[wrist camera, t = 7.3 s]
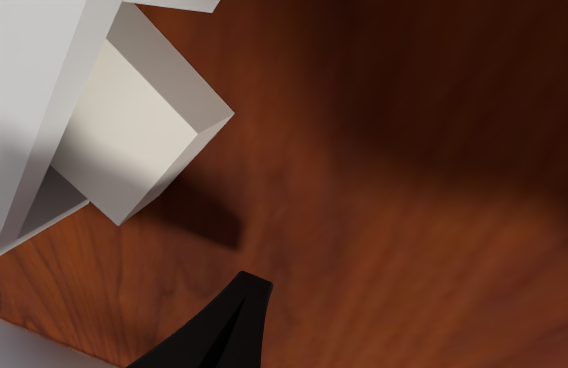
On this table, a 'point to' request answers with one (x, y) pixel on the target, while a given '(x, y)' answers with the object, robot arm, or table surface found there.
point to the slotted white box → (47, 101)
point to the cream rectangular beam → (136, 119)
